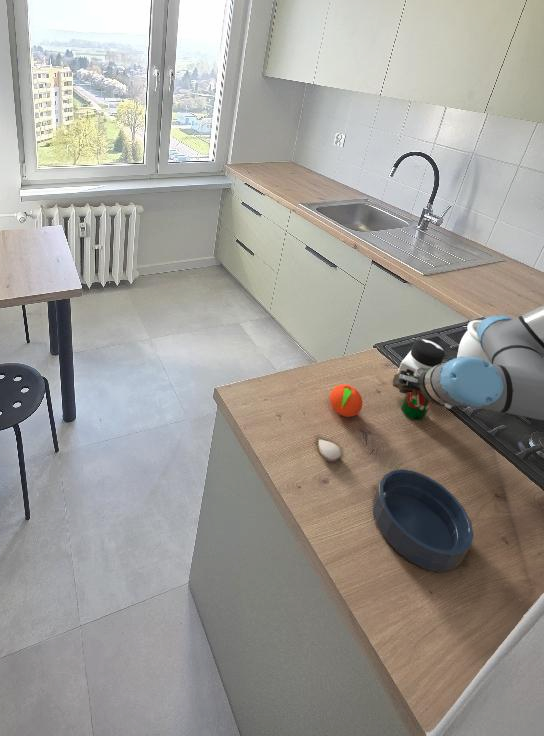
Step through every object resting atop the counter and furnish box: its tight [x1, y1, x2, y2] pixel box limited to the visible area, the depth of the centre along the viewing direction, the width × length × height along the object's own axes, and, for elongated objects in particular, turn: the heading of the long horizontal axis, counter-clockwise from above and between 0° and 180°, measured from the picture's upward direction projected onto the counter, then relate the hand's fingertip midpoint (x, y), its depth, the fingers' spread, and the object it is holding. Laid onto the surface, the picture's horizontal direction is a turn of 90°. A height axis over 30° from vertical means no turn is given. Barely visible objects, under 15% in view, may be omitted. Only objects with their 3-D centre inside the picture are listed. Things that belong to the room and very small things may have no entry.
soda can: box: [400, 368, 432, 421], centre depth 96 cm, size 5×5×12 cm
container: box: [396, 339, 446, 377], centre depth 104 cm, size 8×8×13 cm
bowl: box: [372, 469, 475, 573], centre depth 74 cm, size 14×14×6 cm
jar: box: [456, 319, 491, 364], centre depth 107 cm, size 11×10×15 cm
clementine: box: [329, 383, 363, 418], centre depth 96 cm, size 8×7×7 cm
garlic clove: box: [318, 438, 342, 463], centre depth 87 cm, size 4×5×2 cm
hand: (415, 391), depth 100 cm, fingers closed on soda can, 5 cm apart
